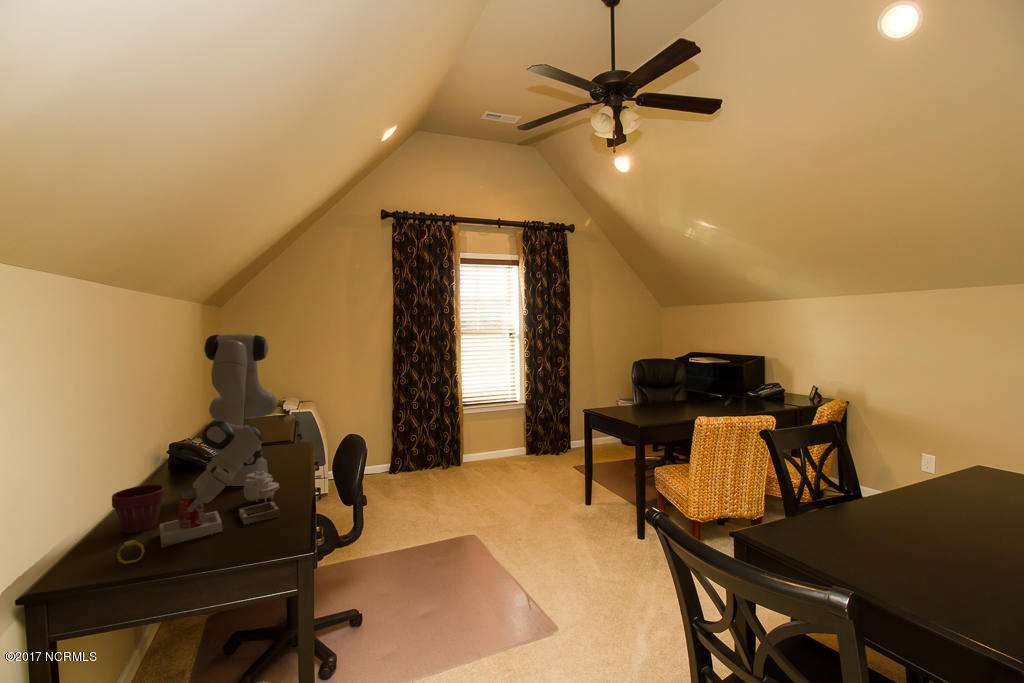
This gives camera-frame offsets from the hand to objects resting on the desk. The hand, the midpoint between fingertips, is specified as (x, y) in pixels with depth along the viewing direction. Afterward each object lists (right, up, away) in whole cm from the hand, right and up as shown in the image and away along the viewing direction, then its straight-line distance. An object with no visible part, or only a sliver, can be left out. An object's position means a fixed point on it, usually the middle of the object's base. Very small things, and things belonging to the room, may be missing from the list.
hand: (187, 506), depth 152 cm
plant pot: (-21, -10, +7) cm, 24 cm away
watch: (-4, -10, -18) cm, 21 cm away
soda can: (0, -7, +3) cm, 8 cm away
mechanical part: (+9, -8, +29) cm, 32 cm away
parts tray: (+1, -9, +1) cm, 9 cm away
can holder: (+16, -8, +13) cm, 23 cm away
